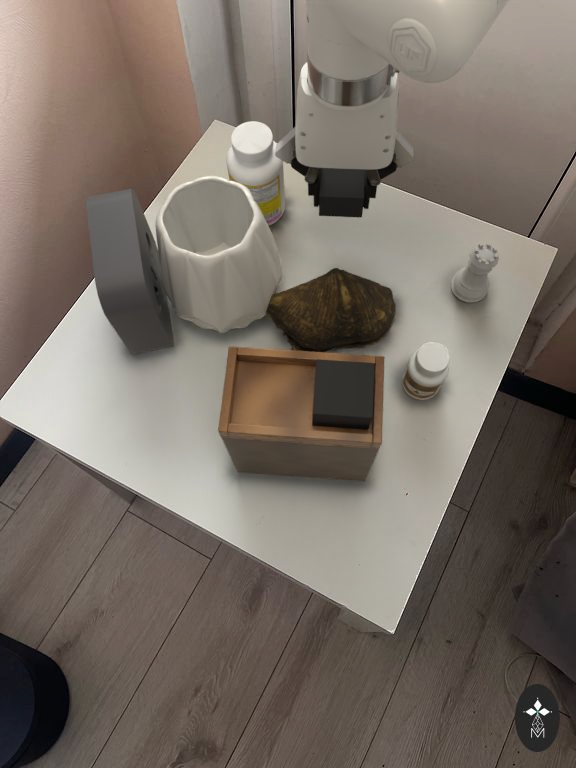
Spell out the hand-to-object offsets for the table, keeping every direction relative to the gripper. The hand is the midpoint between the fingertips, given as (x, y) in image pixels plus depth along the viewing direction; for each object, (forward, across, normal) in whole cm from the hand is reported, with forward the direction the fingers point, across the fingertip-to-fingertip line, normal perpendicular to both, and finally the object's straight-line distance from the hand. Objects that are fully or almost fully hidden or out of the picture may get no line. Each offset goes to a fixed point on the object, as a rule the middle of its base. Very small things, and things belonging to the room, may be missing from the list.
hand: (341, 196), depth 71 cm
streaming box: (0, +26, +13) cm, 29 cm away
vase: (+7, +14, +9) cm, 18 cm away
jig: (+8, +3, +28) cm, 29 cm away
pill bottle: (+8, -10, +20) cm, 24 cm away
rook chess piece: (+8, -16, +7) cm, 19 cm away
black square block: (-7, -1, +28) cm, 29 cm away
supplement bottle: (+7, +10, -3) cm, 13 cm away
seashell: (+8, 0, +13) cm, 15 cm away
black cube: (0, 0, 0) cm, 0 cm away
